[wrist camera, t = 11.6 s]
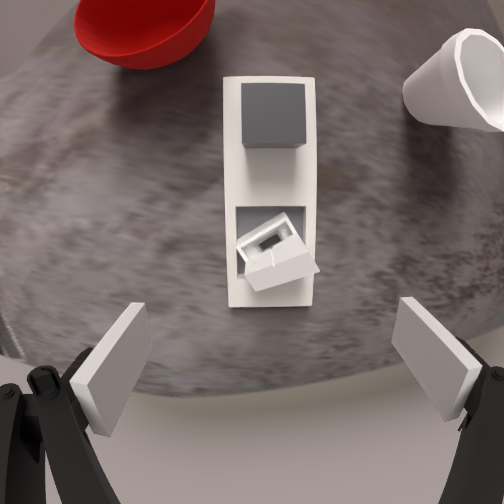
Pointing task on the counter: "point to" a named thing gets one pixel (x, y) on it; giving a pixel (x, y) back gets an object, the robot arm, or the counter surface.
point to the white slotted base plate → (269, 175)
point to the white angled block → (275, 254)
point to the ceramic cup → (142, 30)
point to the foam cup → (460, 84)
